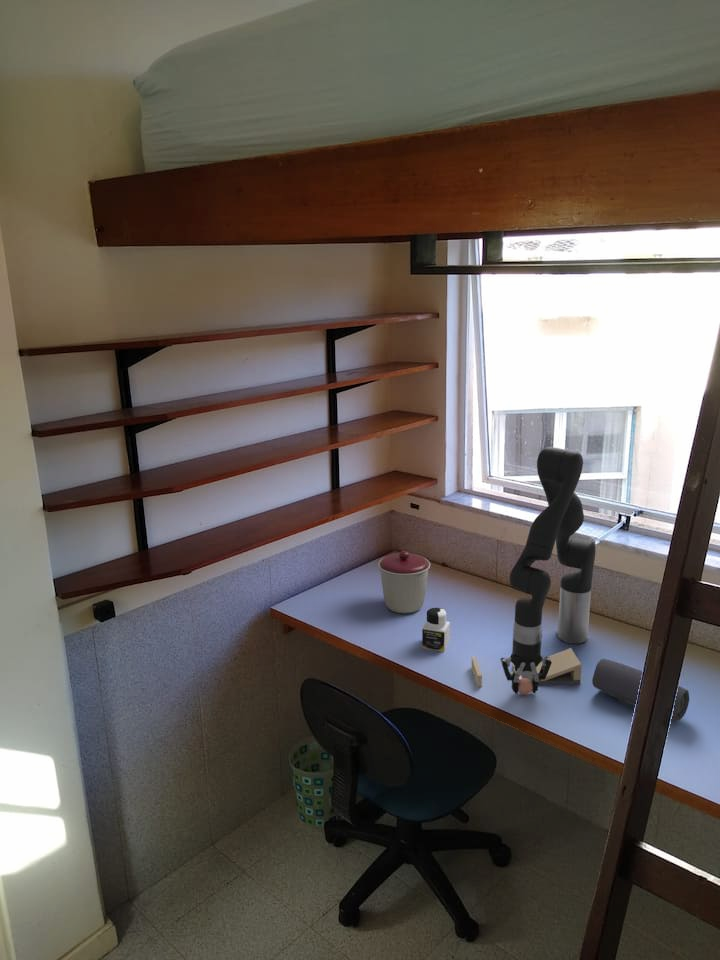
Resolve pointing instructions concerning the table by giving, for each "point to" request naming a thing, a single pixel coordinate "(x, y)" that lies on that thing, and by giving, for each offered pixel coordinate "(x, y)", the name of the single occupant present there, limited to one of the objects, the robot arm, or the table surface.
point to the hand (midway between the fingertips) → (524, 691)
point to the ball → (525, 686)
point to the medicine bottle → (436, 630)
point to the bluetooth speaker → (630, 685)
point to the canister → (404, 581)
